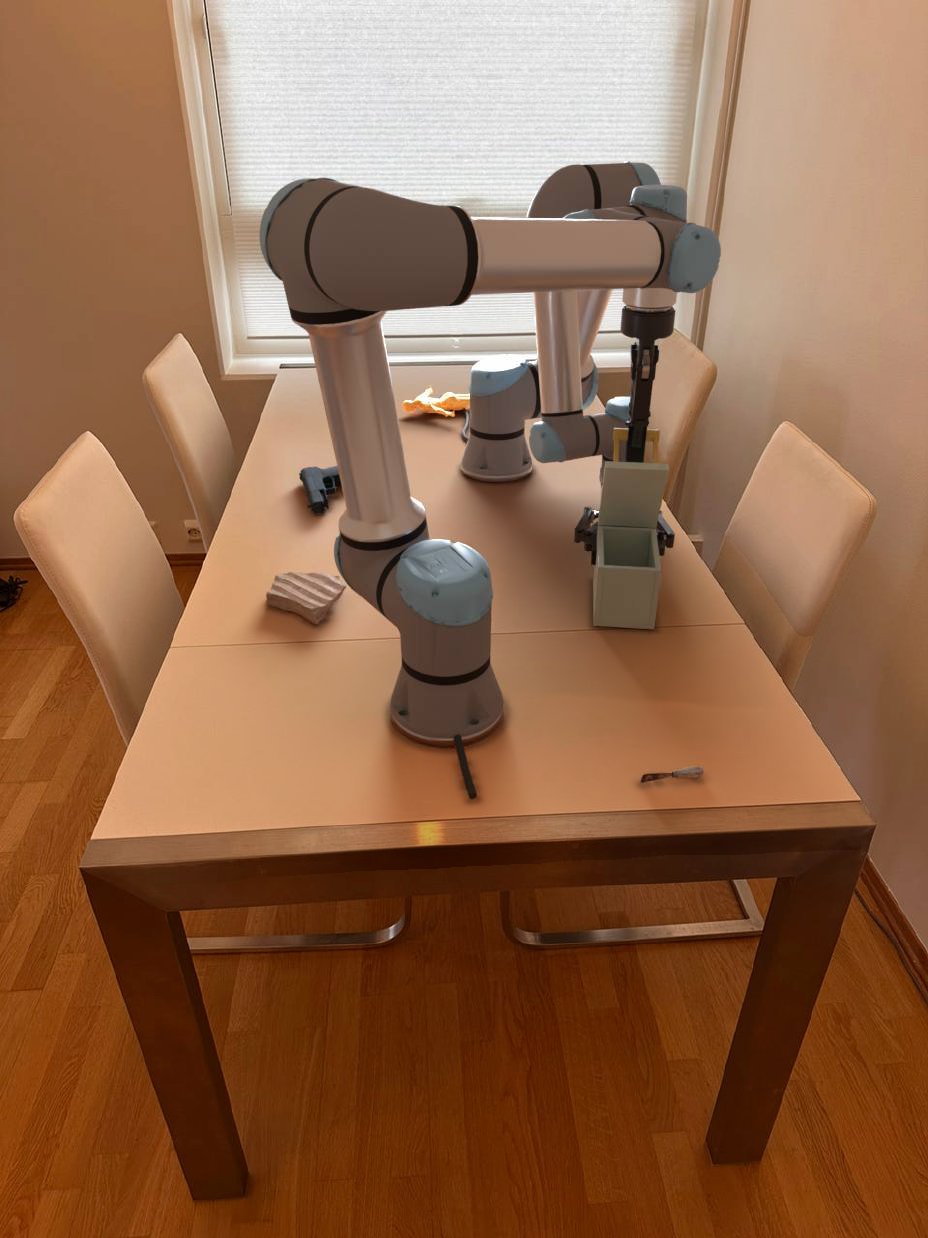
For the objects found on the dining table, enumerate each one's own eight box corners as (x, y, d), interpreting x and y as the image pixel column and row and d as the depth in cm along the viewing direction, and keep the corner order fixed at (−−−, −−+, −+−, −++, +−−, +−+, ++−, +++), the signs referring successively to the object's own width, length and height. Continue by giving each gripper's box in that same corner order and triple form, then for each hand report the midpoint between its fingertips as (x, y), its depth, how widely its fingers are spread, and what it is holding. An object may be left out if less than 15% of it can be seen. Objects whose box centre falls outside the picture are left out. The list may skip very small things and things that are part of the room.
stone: (356, 590, 149) (354, 577, 147) (319, 626, 139) (317, 612, 138) (289, 576, 153) (287, 563, 152) (249, 610, 144) (247, 596, 142)
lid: (669, 470, 131) (669, 422, 135) (605, 467, 132) (606, 419, 136) (656, 527, 144) (656, 482, 149) (598, 525, 145) (599, 480, 150)
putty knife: (703, 777, 109) (705, 767, 109) (642, 788, 108) (644, 777, 107) (700, 772, 110) (702, 762, 109) (639, 782, 109) (640, 771, 108)
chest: (654, 629, 138) (661, 570, 133) (593, 625, 139) (598, 567, 134) (648, 584, 150) (655, 528, 145) (593, 581, 151) (597, 525, 146)
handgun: (369, 509, 176) (308, 516, 174) (354, 474, 190) (298, 480, 188) (368, 494, 174) (307, 501, 172) (353, 460, 189) (296, 466, 186)
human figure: (395, 413, 223) (394, 398, 221) (438, 390, 237) (438, 375, 235) (462, 429, 215) (462, 413, 213) (502, 404, 229) (503, 388, 227)
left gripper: (679, 319, 120) (660, 481, 133) (672, 294, 133) (655, 445, 145) (623, 318, 121) (609, 479, 134) (621, 293, 134) (609, 443, 146)
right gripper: (680, 523, 164) (691, 583, 145) (559, 517, 166) (555, 576, 147) (685, 485, 160) (697, 542, 141) (562, 479, 162) (558, 535, 143)
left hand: (633, 461), depth 139 cm, fingers closed on lid, 2 cm apart
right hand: (625, 559), depth 144 cm, fingers closed on chest, 9 cm apart
